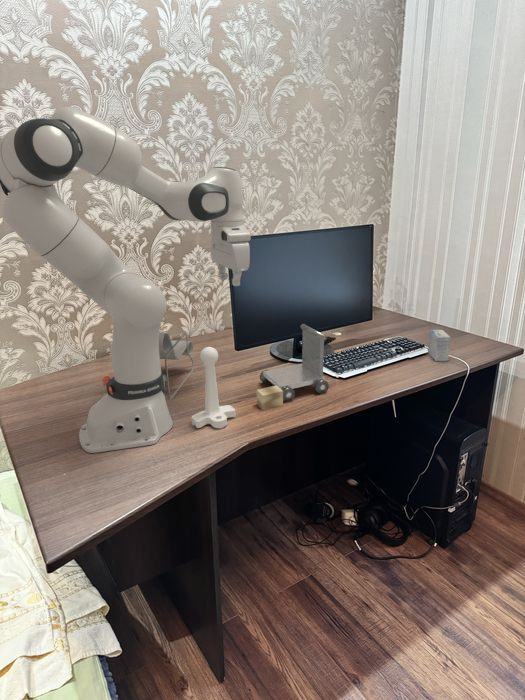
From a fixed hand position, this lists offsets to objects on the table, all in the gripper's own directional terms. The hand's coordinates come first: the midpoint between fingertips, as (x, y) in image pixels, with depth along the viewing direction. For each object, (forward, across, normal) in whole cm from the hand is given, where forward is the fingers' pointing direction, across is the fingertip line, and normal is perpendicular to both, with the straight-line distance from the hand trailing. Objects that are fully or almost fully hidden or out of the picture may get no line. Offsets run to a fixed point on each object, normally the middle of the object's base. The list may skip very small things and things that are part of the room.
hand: (229, 282), depth 130 cm
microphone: (+32, -16, +40) cm, 54 cm away
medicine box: (+32, +12, +70) cm, 78 cm away
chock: (+31, +18, +4) cm, 36 cm away
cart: (+31, +11, +14) cm, 36 cm away
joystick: (+31, +20, -13) cm, 39 cm away
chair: (+31, -11, -19) cm, 38 cm away
